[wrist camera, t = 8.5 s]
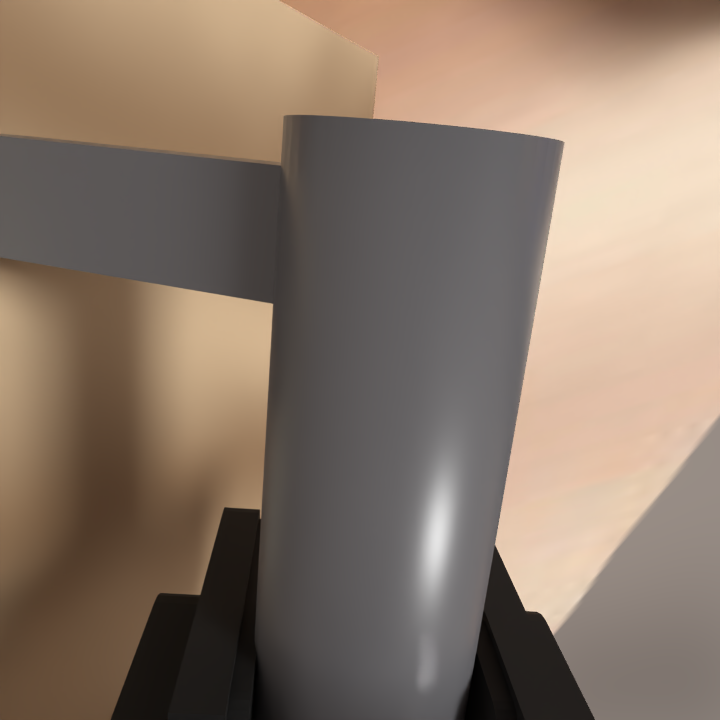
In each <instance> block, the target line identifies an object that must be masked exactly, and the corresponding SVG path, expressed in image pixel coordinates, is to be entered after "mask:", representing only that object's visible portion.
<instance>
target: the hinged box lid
mask: <svg viewBox="0 0 720 720" xmlns="http://www.w3.org/2000/svg"><path fill="white" fill-rule="evenodd" d="M378 59H379V56H377V55H375V54H374V53H372V52H370V51H368V50H367V49H365V48H363V47H361V46H359V45H358V44H356V43H354V42H352V41H350V40H349V39H347V38H345V37H343V36H342V35H340V34H338V33H336V32H334V31H333V30H331V29H329V28H327V27H326V26H324V25H322V24H320V23H318V22H317V21H315V20H313V19H311V18H310V17H308V16H306V15H304V14H302V13H301V12H299V11H297V10H295V9H294V8H292V7H290V6H288V5H286V4H285V3H283V2H281V1H279V0H0V720H111V717H112V714H113V712H114V709H115V706H116V704H117V701H118V698H119V696H120V693H121V690H122V688H123V685H124V682H125V679H126V677H127V674H128V671H129V669H130V666H131V663H132V661H133V658H134V655H135V653H136V650H137V647H138V645H139V642H140V639H141V637H142V634H143V631H144V628H145V626H146V623H147V620H148V618H149V615H150V612H151V610H152V607H153V604H154V602H155V600H156V597H157V595H158V594H160V593H172V594H192V595H200V594H201V590H202V586H203V583H204V579H205V575H206V572H207V568H208V564H209V561H210V557H211V553H212V550H213V546H214V542H215V539H216V535H217V531H218V528H219V524H220V520H221V517H222V513H223V510H224V507H229V508H245V509H260V519H261V528H260V546H259V564H258V582H257V600H256V618H255V647H256V666H255V681H254V696H253V710H252V720H465V714H466V708H467V703H468V697H469V691H470V685H471V679H472V674H473V668H474V662H475V656H476V651H477V645H478V639H479V633H480V627H481V622H482V616H483V610H484V604H485V598H486V593H487V587H488V581H489V575H490V570H491V564H492V558H493V552H494V546H495V541H496V535H497V529H498V523H499V518H500V512H501V506H502V500H503V494H504V489H505V483H506V477H507V471H508V465H509V460H510V454H511V448H512V442H513V437H514V431H515V425H516V419H517V413H518V408H519V402H520V396H521V390H522V385H523V379H524V373H525V367H526V361H527V356H528V350H529V344H530V338H531V332H532V327H533V321H534V315H535V309H536V304H537V298H538V292H539V286H540V280H541V275H542V269H543V263H544V257H545V252H546V246H547V240H548V234H549V228H550V223H551V217H552V211H553V205H554V199H555V194H556V188H557V182H558V176H559V171H560V165H561V159H562V153H563V147H564V142H563V141H559V140H555V139H550V138H544V137H538V136H532V135H525V134H517V133H510V132H502V131H494V130H485V129H476V128H467V127H458V126H448V125H438V124H428V123H417V122H406V121H395V120H383V119H373V113H374V103H375V92H376V81H377V70H378Z"/></svg>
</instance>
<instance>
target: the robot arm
mask: <svg viewBox="0 0 720 720" xmlns="http://www.w3.org/2000/svg"><path fill="white" fill-rule="evenodd" d="M260 528H261V519H260V509H245V508H229V507H224V510H223V513H222V517H221V520H220V524H219V528H218V531H217V535H216V539H215V542H214V546H213V550H212V553H211V557H210V561H209V564H208V568H207V572H206V575H205V579H204V583H203V586H202V590H201V594H200V595H192V594H172V593H160V594H158V595H157V597H156V600H155V602H154V604H153V607H152V610H151V612H150V615H149V618H148V620H147V623H146V626H145V628H144V631H143V634H142V637H141V639H140V642H139V645H138V647H137V650H136V653H135V655H134V658H133V661H132V663H131V666H130V669H129V671H128V674H127V677H126V679H125V682H124V685H123V688H122V690H121V693H120V696H119V698H118V701H117V704H116V706H115V709H114V712H113V714H112V717H111V720H252V710H253V696H254V681H255V666H256V647H255V618H256V600H257V582H258V564H259V546H260ZM465 720H595V719H594V717H593V715H592V713H591V711H590V709H589V707H588V705H587V703H586V701H585V699H584V697H583V695H582V693H581V691H580V689H579V687H578V685H577V683H576V681H575V679H574V677H573V675H572V673H571V671H570V669H569V666H568V664H567V663H566V660H565V658H564V656H563V654H562V652H561V650H560V649H559V646H558V645H557V642H556V640H555V638H554V636H553V634H552V632H551V630H550V628H549V626H548V624H547V622H546V620H545V619H544V618H543V616H542V615H541V614H540V613H538V612H529V611H525V609H524V607H523V605H522V602H521V600H520V598H519V596H518V594H517V592H516V589H515V587H514V585H513V583H512V581H511V579H510V576H509V574H508V572H507V570H506V568H505V566H504V563H503V561H502V559H501V557H500V555H499V553H498V550H497V548H496V546H494V552H493V558H492V564H491V570H490V575H489V581H488V587H487V593H486V598H485V604H484V610H483V616H482V622H481V627H480V633H479V639H478V645H477V651H476V656H475V662H474V668H473V674H472V679H471V685H470V691H469V697H468V703H467V708H466V714H465Z"/></svg>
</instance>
